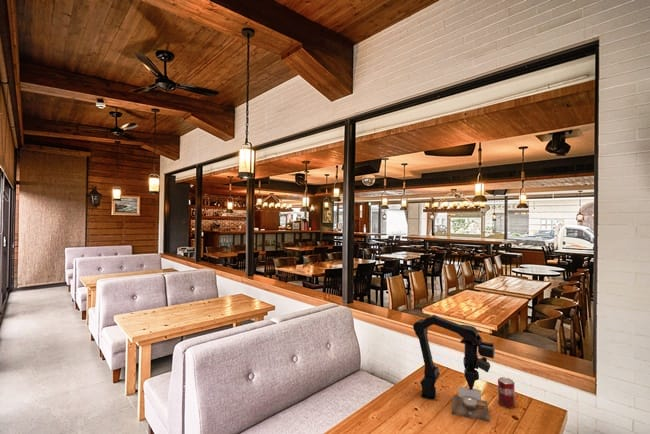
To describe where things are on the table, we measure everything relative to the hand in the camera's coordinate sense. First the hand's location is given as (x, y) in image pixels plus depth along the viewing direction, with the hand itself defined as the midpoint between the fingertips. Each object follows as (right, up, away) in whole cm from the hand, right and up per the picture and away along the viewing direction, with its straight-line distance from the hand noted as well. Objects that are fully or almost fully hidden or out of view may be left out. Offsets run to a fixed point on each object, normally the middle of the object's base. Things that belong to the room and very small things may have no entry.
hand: (470, 384), depth 157 cm
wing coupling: (-1, -10, -1) cm, 10 cm away
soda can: (+19, -12, +3) cm, 23 cm away
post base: (-1, -12, -1) cm, 12 cm away
